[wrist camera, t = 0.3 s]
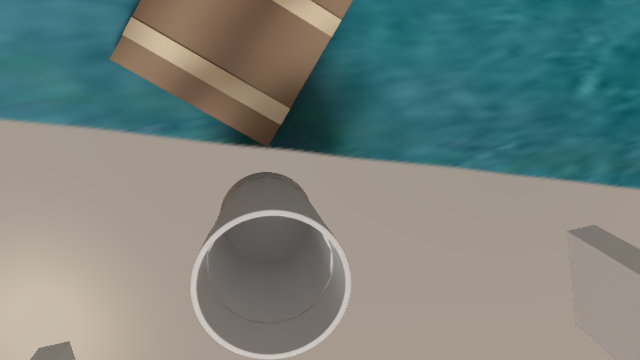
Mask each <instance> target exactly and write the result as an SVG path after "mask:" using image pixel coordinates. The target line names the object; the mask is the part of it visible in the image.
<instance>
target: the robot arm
mask: <svg viewBox="0 0 640 360" xmlns="http://www.w3.org/2000/svg"><path fill="white" fill-rule="evenodd" d="M567 238H568V248H569V259H570V269H571V280H572V291H573V301H574V312H575V323H576V325H577V326H578V327H579V328H580V329H581V330H582V331H584V332H585V333H586V334H587V335H588V336H589V337H591V338H592V339H593V340H594V341H595V342H596V343H597V344H599V345H600V346H601V347H602V348H603V349H604V350H605V351H606V352H607V353H609V354H610V355H611V356H612V357H613V358H614V359H615V360H640V249H638V248H636V247H635V246H633V245H631V244H629V243H627V242H625V241H623V240H622V239H619V238H617V237H616V236H614V235H612V234H610V233H608V232H606V231H605V230H603V229H601V228H599V227H597V226H595V225H592V226H588V227H583V228H579V229H575V230H570V231H567ZM31 360H75V357H74V354H73V351H72V348H71V345H70V342H64V343H60V344H55V345H51V346H46V347H42V348H39V349H38V350H37V351H36V353H35V354H34V356H33V357H32V358H31Z"/></svg>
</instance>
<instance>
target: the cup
mask: <svg viewBox="0 0 640 360" xmlns="http://www.w3.org/2000/svg"><path fill="white" fill-rule="evenodd" d="M190 292H191V300H192V304H193V308H194V311H195V313H196V315H197V317H198V319H199V321H200V323H201V324H202V326H203V327H204V329H205V330H206V331H207V332H208V334H209V335H210V336H211V337H212V338H213V339H215V340H216V341H217V342H218V343H220V344H221V345H223V346H224V347H226V348H227V349H229V350H231V351H233V352H235V353H238V354H240V355H243V356H247V357H251V358H258V359H280V358H286V357H290V356H293V355H297V354H300V353H302V352H304V351H306V350H308V349H310V348H312V347H314V346H315V345H317V344H318V343H320V342H321V341H322V340H323V339H325V338H326V337H327V336H328V335H329V334H330V333H331V332H332V331H333V330H334V328H335V327H336V326H337V324H338V323H339V321H340V320H341V318H342V317H343V315H344V312H345V310H346V308H347V305H348V302H349V298H350V293H351V271H350V266H349V262H348V259H347V257H346V254H345V252H344V250H343V248H342V246H341V245H340V243H339V242H338V240H337V239H336V238H335V236H334V235H333V234H332V232H331V231H330V230H329V229H328V227H327V226H326V225H325V223H324V222H323V221H322V219H321V218H320V216H319V215H318V214H317V212H316V211H315V209H314V208H313V206H312V205H311V203H310V202H309V200H308V197H307V195H306V194H305V192H304V191H303V189H302V188H301V187H300V186H299V185H298V184H297V183H296V182H294V181H293V180H292V179H290V178H288V177H286V176H284V175H281V174H277V173H271V172H262V173H256V174H252V175H249V176H247V177H245V178H243V179H241V180H240V181H238V182H237V183H236V184H235V185H233V186H232V188H231V189H230V190H229V191H228V193H227V194H226V196H225V198H224V200H223V203H222V206H221V211H220V214H219V216H218V219H217V221H216V223H215V225H214V227H213V228H212V230H211V231H210V233H209V234H208V236H207V238H206V240H205V242H204V244H203V246H202V248H201V249H200V251H199V253H198V255H197V257H196V260H195V263H194V265H193V269H192V273H191V280H190Z"/></svg>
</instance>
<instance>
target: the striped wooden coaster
mask: <svg viewBox="0 0 640 360" xmlns="http://www.w3.org/2000/svg"><path fill="white" fill-rule="evenodd" d="M352 1H353V0H140V2H139V4H138V6H137V8H136V10H135V12H134V14H133V16H132V17H131V18H130V20H129V22H128V24H127V26H126V28H125V30H124V32H123V34H122V37H121V39H120V41H119V42H118V44H117V46H116V48H115V50H114V52H113V54H112V56H111V58H110V60H112V61H114V62H115V63H117V64H119V65H121V66H123V67H124V68H126V69H128V70H130V71H132V72H133V73H135V74H137V75H139V76H141V77H142V78H144V79H146V80H148V81H149V82H151V83H153V84H155V85H157V86H158V87H160V88H162V89H164V90H166V91H167V92H169V93H171V94H173V95H175V96H176V97H178V98H180V99H182V100H184V101H185V102H187V103H189V104H191V105H192V106H194V107H196V108H198V109H200V110H201V111H203V112H205V113H207V114H209V115H210V116H212V117H214V118H216V119H218V120H219V121H221V122H223V123H225V124H227V125H228V126H230V127H232V128H234V129H235V130H237V131H239V132H241V133H243V134H244V135H246V136H248V137H250V138H252V139H253V140H255V141H257V142H259V143H261V144H262V145H264V146H266V147H268V146H269V144H270V142H271V141H272V139H273V137H274V135H275V134H276V132H277V130H278V128H279V127H280V125H281V124H282V122H283V120H284V119H285V117H286V115H287V113H288V112H289V110H290V108H291V106H292V104H293V103H294V101H295V99H296V97H297V96H298V94H299V92H300V90H301V89H302V87H303V85H304V84H305V82H306V80H307V78H308V77H309V75H310V73H311V71H312V70H313V68H314V66H315V65H316V63H317V61H318V59H319V58H320V56H321V54H322V52H323V51H324V49H325V47H326V46H327V44H328V42H329V40H330V39H331V37H332V36H333V34H334V32H335V30H336V29H337V27H338V25H339V24H340V22H341V20H342V18H343V16H344V14H345V13H346V11H347V9H348V7H349V6H350V4H351V2H352Z"/></svg>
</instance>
